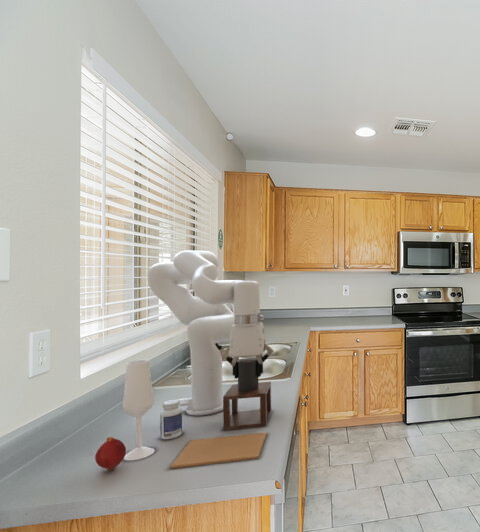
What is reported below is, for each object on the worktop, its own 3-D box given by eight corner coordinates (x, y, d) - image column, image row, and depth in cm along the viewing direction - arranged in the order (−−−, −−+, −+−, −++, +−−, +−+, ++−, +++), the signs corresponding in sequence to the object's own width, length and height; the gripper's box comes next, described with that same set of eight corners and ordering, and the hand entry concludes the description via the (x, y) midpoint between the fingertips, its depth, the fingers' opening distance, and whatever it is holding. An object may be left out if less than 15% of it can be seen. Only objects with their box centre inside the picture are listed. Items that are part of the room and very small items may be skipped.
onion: (107, 464, 92) (106, 431, 92) (131, 462, 93) (131, 430, 93) (89, 477, 86) (89, 442, 87) (115, 475, 87) (115, 441, 87)
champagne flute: (160, 447, 101) (159, 358, 101) (143, 460, 94) (142, 364, 94) (135, 448, 100) (133, 359, 100) (116, 461, 94) (115, 365, 94)
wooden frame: (223, 430, 111) (222, 396, 111) (233, 415, 122) (232, 384, 122) (266, 426, 113) (265, 393, 113) (271, 411, 125) (270, 381, 125)
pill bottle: (186, 432, 109) (186, 399, 109) (170, 440, 104) (169, 406, 104) (172, 430, 111) (172, 397, 111) (155, 438, 106) (155, 404, 106)
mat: (170, 468, 90) (170, 466, 90) (190, 442, 103) (190, 440, 103) (258, 458, 94) (258, 456, 94) (266, 434, 107) (266, 432, 107)
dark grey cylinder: (236, 392, 114) (235, 363, 114) (240, 386, 120) (239, 358, 120) (256, 390, 115) (256, 361, 115) (259, 385, 121) (259, 357, 121)
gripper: (277, 317, 123) (278, 371, 123) (221, 319, 120) (221, 375, 120) (274, 320, 116) (275, 377, 116) (214, 322, 112) (215, 382, 112)
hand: (248, 376), depth 118 cm, fingers closed on dark grey cylinder, 6 cm apart
